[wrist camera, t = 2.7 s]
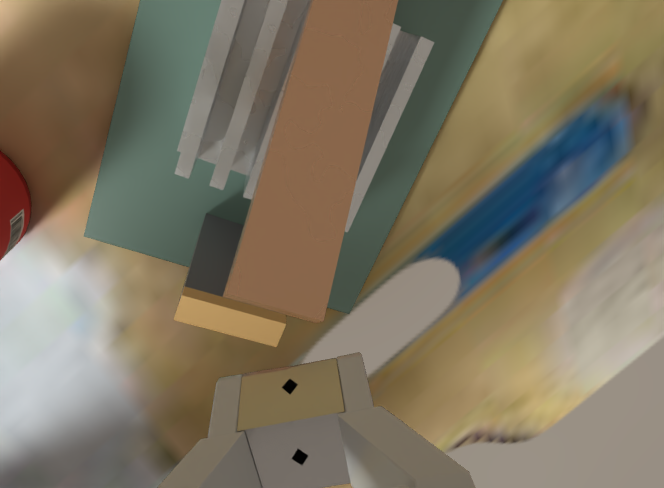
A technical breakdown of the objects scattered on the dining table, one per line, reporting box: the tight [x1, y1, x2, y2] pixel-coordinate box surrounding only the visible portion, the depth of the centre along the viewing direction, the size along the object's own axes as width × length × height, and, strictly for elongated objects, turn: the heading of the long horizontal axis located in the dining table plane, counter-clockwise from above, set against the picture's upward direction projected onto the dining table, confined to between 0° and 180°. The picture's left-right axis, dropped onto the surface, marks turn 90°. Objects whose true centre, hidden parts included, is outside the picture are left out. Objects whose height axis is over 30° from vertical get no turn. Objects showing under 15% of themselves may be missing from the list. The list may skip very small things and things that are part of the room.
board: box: [84, 0, 503, 347], centre depth 26 cm, size 24×18×11 cm
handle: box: [223, 0, 398, 323], centre depth 18 cm, size 17×3×2 cm
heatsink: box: [174, 0, 434, 232], centre depth 27 cm, size 10×10×6 cm
